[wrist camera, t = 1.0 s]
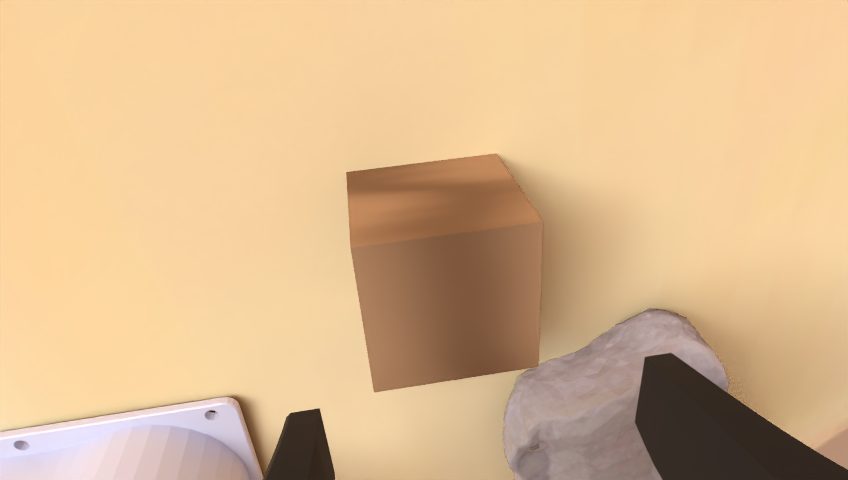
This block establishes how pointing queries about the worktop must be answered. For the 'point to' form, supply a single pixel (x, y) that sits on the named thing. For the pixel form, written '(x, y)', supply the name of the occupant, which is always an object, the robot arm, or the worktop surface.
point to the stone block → (597, 402)
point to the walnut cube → (445, 270)
